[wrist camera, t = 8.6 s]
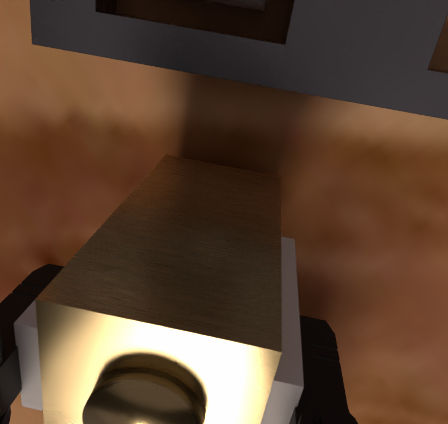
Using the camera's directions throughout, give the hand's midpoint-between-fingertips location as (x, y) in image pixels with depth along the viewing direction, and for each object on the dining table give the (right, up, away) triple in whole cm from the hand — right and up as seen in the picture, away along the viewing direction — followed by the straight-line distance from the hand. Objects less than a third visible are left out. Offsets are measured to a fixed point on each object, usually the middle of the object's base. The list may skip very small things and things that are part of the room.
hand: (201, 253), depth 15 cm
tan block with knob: (0, +1, +3) cm, 3 cm away
